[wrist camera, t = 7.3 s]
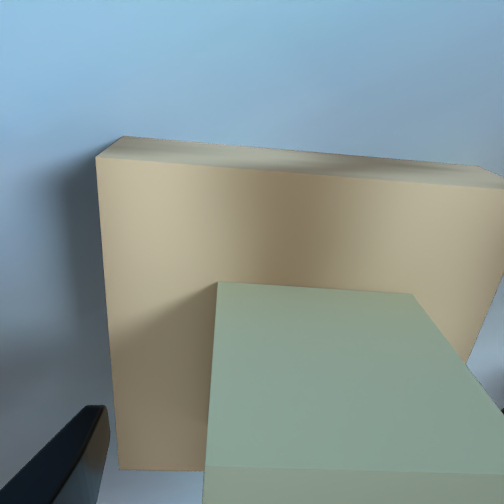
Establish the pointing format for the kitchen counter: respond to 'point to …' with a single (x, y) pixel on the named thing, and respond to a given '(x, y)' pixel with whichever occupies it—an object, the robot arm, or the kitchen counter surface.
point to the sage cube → (343, 403)
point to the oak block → (270, 260)
